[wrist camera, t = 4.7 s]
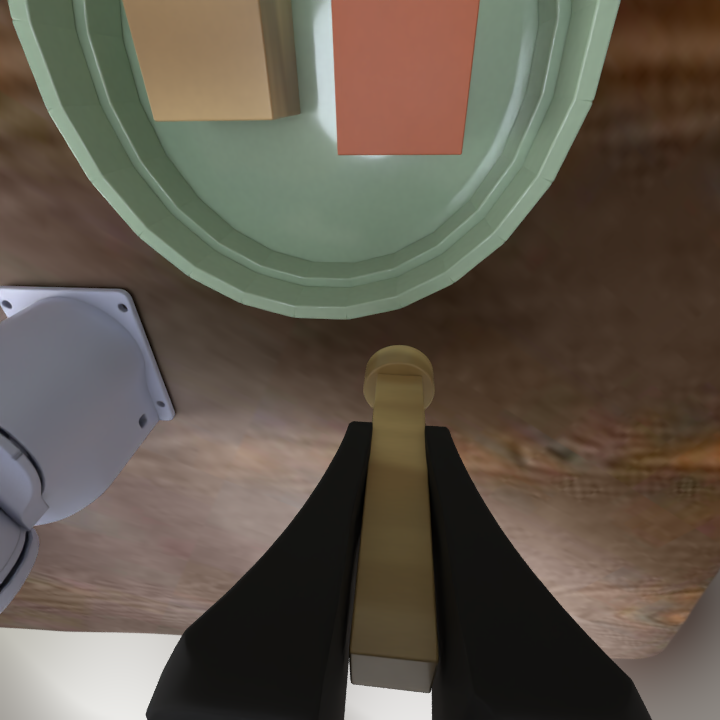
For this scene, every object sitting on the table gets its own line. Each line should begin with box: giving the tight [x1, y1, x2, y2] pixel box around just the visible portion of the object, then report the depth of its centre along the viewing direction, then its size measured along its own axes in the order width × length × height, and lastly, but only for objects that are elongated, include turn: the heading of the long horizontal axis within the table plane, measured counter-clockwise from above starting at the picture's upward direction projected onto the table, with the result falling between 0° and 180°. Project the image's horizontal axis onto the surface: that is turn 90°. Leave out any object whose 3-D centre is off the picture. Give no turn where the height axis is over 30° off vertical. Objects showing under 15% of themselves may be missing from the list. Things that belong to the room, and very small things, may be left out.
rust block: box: [331, 0, 480, 155], centre depth 13 cm, size 4×4×4 cm
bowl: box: [8, 0, 621, 319], centre depth 13 cm, size 17×17×5 cm
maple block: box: [122, 0, 301, 122], centre depth 13 cm, size 4×4×4 cm
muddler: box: [349, 345, 439, 693], centre depth 11 cm, size 3×3×10 cm
